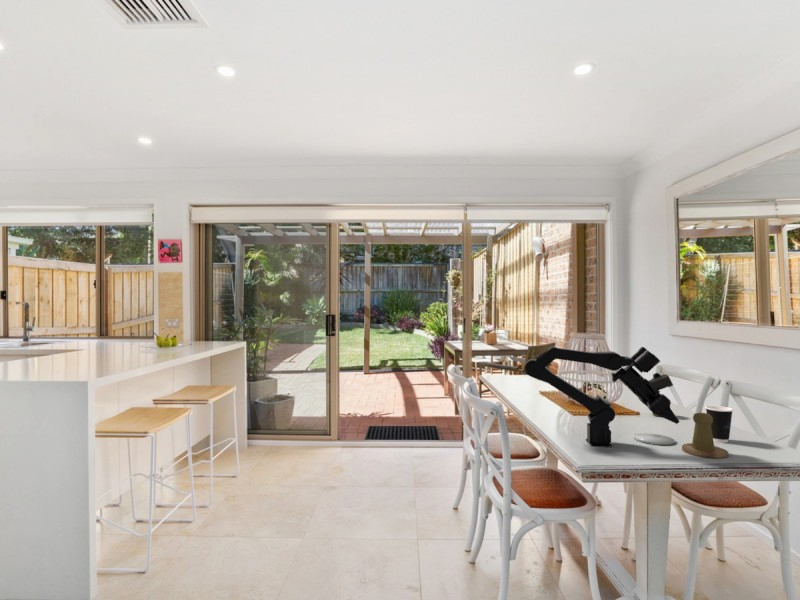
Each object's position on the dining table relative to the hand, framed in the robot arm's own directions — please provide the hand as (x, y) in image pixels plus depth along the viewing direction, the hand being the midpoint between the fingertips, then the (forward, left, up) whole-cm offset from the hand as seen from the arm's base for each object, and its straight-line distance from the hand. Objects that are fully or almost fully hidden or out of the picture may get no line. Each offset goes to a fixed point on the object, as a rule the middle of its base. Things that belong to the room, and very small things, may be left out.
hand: (674, 419), depth 145 cm
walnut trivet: (+8, -2, -10) cm, 13 cm away
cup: (+15, +47, -10) cm, 51 cm away
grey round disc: (-2, +10, -10) cm, 14 cm away
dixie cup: (+20, +12, -10) cm, 26 cm away
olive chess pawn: (+8, -1, -9) cm, 12 cm away
